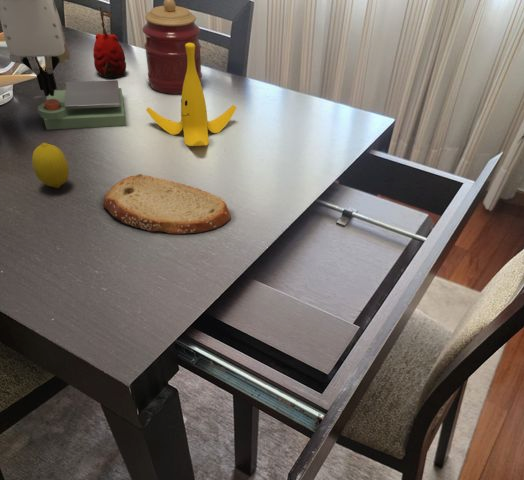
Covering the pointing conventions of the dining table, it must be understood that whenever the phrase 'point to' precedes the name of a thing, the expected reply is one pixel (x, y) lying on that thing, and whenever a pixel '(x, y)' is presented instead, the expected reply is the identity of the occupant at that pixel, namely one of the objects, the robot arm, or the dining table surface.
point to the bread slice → (165, 205)
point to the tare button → (52, 104)
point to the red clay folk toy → (108, 53)
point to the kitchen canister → (170, 46)
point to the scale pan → (92, 94)
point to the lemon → (50, 165)
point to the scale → (81, 115)
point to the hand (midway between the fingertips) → (49, 93)
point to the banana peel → (193, 109)
